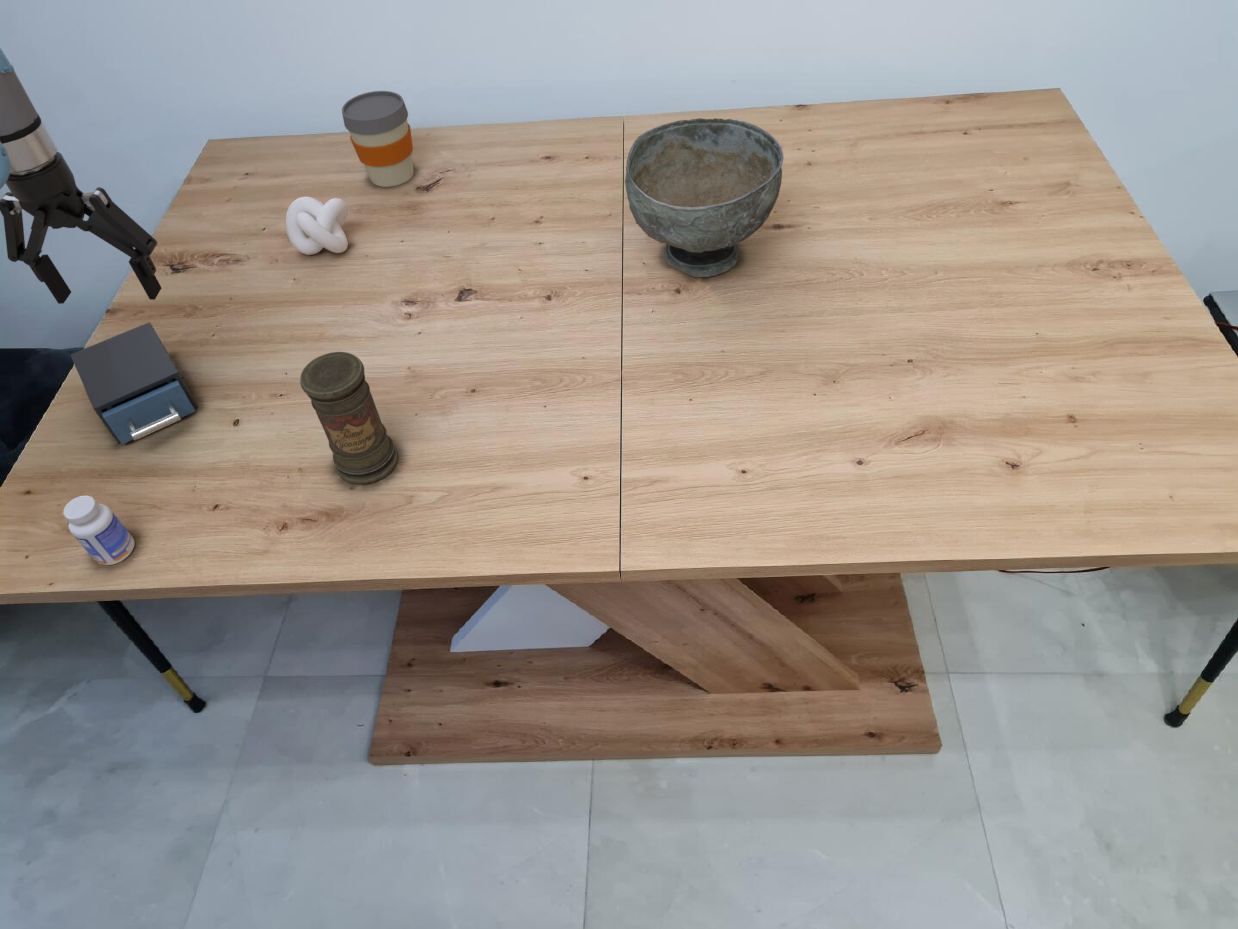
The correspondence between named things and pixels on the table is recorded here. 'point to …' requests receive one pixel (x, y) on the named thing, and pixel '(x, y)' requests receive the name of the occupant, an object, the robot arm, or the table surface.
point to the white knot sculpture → (317, 225)
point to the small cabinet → (125, 368)
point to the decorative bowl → (703, 189)
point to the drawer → (148, 411)
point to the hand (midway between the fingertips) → (110, 296)
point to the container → (349, 417)
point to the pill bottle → (98, 530)
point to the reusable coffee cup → (381, 136)
